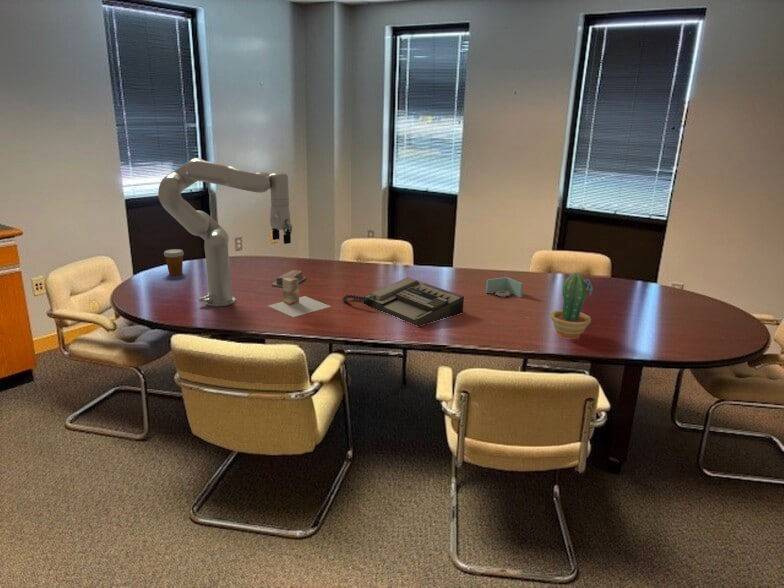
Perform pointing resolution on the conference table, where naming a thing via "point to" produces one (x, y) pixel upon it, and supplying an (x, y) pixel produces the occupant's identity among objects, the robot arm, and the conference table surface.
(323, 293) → the conference table surface
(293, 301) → the maple block
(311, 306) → the mat
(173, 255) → the disposable coffee cup
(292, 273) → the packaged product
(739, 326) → the conference table surface
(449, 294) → the fax machine
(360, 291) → the conference table surface
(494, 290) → the l-shaped corner panel
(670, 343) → the conference table surface
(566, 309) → the potted cactus
